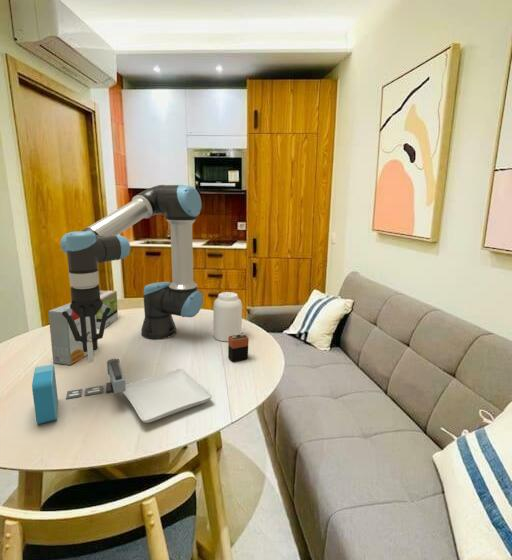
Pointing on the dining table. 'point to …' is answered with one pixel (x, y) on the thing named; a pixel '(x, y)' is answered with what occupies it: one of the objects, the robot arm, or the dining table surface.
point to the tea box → (109, 300)
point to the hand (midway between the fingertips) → (91, 360)
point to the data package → (45, 394)
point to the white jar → (227, 316)
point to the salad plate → (165, 394)
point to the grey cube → (109, 387)
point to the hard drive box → (66, 337)
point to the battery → (238, 347)
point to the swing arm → (116, 375)
